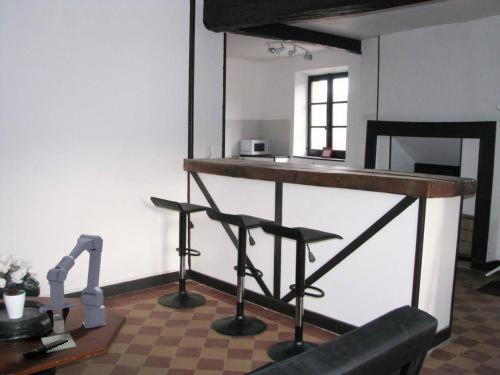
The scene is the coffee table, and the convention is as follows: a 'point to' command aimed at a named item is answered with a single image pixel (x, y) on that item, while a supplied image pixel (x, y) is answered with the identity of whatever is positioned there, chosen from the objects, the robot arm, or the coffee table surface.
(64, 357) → the coffee table surface
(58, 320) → the connector
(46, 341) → the mat
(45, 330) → the end cap
